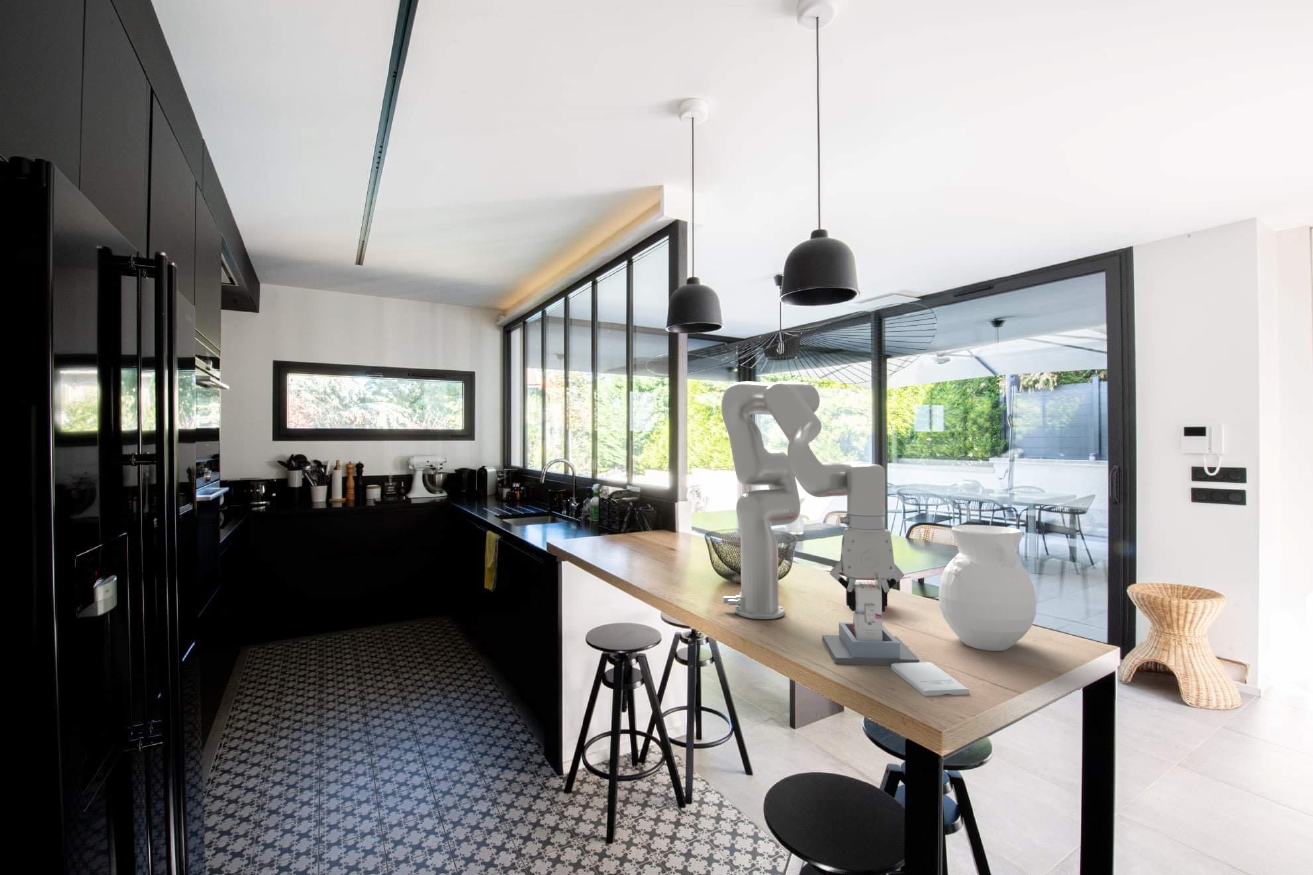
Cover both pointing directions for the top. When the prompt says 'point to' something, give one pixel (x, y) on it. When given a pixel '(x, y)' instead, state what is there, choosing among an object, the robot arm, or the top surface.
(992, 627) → the white vase
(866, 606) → the ink cartridge box
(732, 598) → the robot arm
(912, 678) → the external hard drive
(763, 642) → the top surface
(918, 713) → the top surface
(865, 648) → the dock
